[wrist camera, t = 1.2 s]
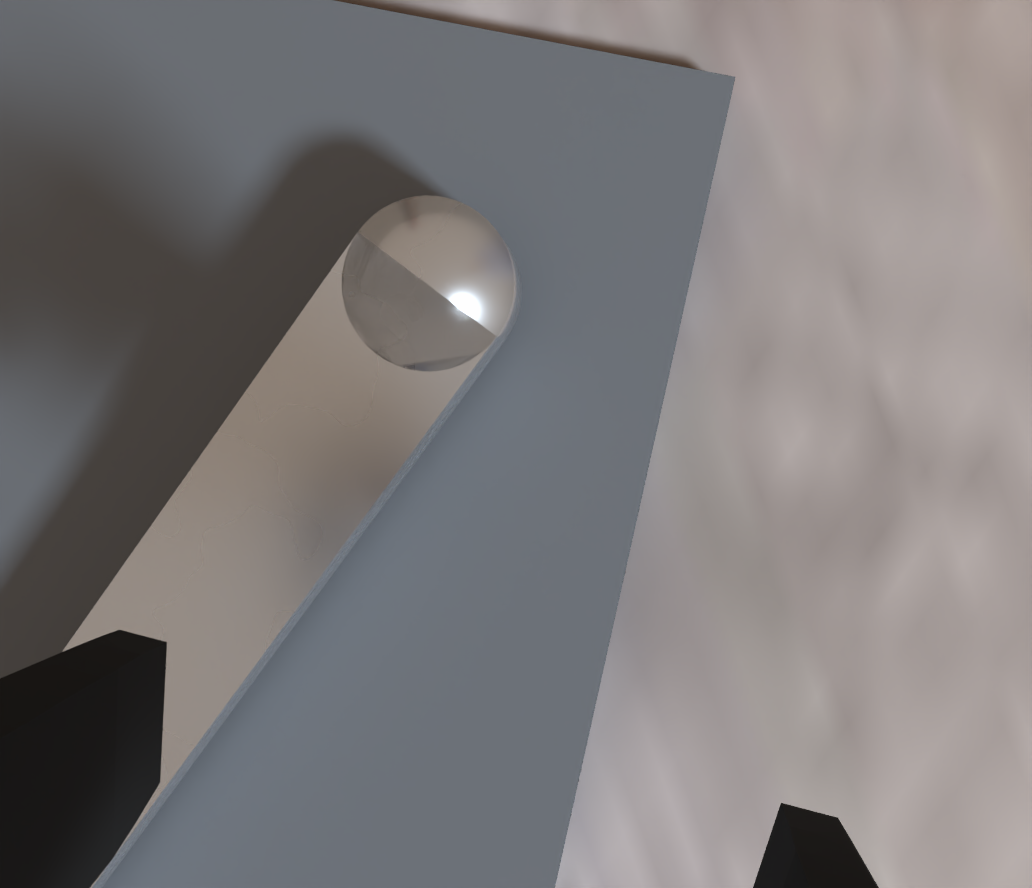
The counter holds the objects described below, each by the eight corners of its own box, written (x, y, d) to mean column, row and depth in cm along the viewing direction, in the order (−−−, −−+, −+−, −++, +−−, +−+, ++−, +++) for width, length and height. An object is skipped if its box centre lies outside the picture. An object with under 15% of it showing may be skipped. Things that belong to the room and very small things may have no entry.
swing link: (-13, 1081, 21) (-76, 1157, 19) (-160, 969, 21) (-239, 1034, 19) (574, 290, 19) (572, 283, 17) (406, 164, 19) (385, 141, 17)
